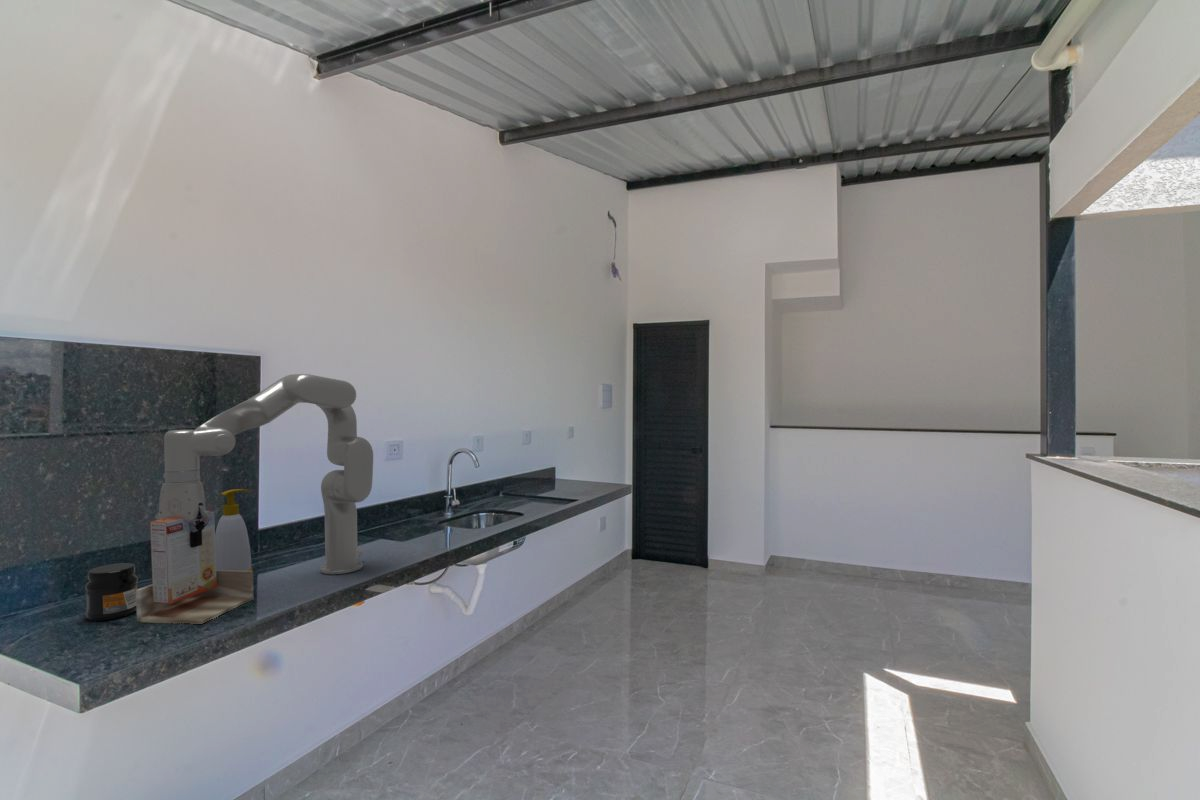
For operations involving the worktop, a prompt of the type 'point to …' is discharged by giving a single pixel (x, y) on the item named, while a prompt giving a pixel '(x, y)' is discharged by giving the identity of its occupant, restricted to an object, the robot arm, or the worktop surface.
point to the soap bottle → (232, 537)
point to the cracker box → (181, 560)
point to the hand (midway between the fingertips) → (184, 545)
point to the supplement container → (111, 592)
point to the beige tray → (198, 600)
